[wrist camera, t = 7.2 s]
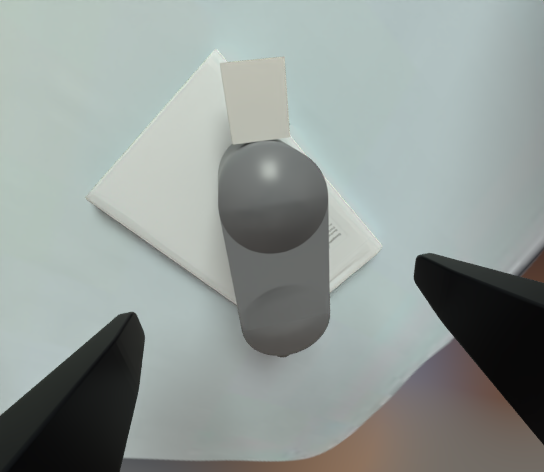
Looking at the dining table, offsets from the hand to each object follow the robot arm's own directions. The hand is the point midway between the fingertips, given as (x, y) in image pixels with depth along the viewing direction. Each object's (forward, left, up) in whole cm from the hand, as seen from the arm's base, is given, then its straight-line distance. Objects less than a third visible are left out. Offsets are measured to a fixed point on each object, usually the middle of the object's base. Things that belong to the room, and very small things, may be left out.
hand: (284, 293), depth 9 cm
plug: (0, 0, -5) cm, 5 cm away
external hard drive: (0, 0, -7) cm, 7 cm away
